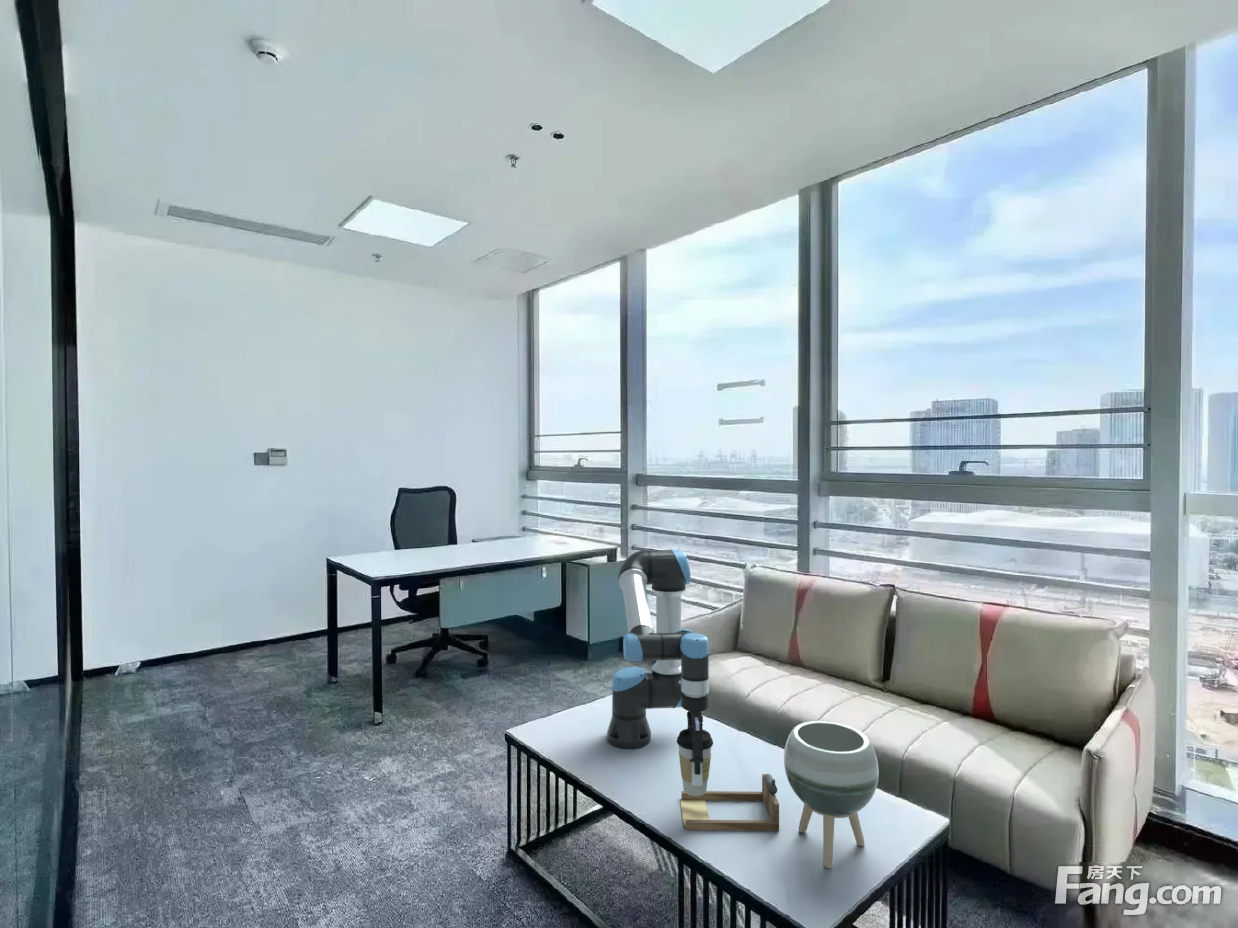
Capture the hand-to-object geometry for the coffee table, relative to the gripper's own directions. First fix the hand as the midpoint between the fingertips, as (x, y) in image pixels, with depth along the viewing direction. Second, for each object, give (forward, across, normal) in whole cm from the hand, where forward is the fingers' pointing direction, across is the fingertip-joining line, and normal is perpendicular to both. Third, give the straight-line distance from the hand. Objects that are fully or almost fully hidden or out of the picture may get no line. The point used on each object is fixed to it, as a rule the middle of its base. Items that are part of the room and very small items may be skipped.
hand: (694, 774), depth 167 cm
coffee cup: (+4, 0, 0) cm, 4 cm away
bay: (+11, 0, +9) cm, 14 cm away
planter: (+11, +14, +32) cm, 37 cm away
